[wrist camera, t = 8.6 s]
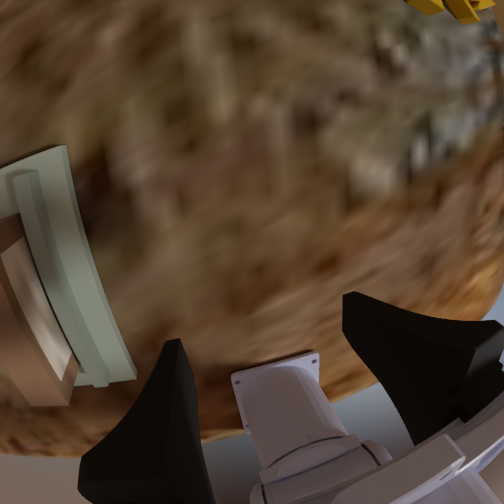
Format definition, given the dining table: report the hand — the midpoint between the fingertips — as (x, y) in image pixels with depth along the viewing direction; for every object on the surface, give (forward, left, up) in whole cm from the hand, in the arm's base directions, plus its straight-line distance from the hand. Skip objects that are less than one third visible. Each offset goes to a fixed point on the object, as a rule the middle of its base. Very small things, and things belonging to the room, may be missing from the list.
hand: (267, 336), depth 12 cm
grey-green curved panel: (+1, +15, -9) cm, 17 cm away
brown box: (+1, +15, -8) cm, 17 cm away
